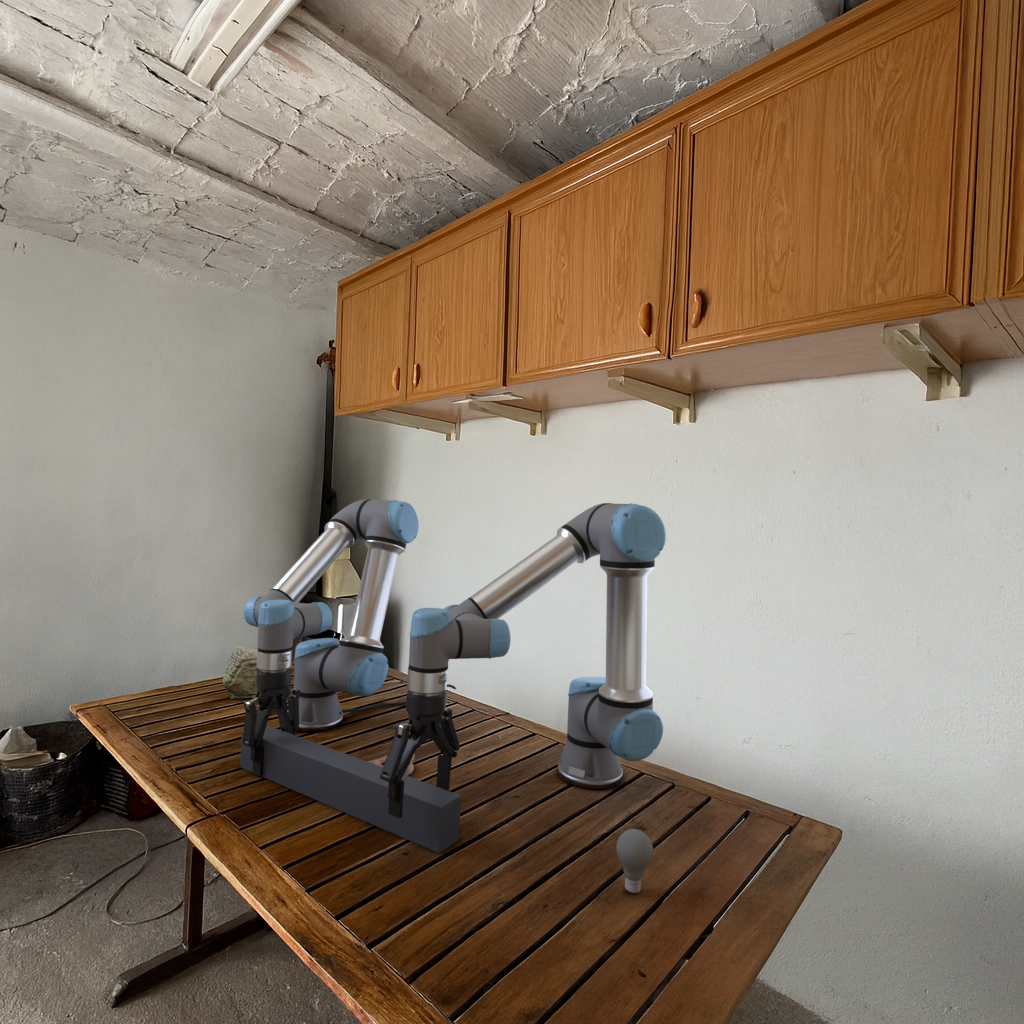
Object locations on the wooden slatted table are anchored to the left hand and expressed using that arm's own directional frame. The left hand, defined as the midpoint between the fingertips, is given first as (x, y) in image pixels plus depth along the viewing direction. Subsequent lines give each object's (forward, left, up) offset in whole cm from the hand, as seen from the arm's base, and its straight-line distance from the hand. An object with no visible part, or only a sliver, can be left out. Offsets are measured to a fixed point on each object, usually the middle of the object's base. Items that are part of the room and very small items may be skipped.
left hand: (270, 768), depth 145 cm
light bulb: (-17, +84, 0) cm, 85 cm away
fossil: (-26, -53, 0) cm, 59 cm away
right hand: (-4, +45, +6) cm, 45 cm away
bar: (-2, +22, 0) cm, 23 cm away
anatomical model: (-18, +18, 0) cm, 26 cm away
